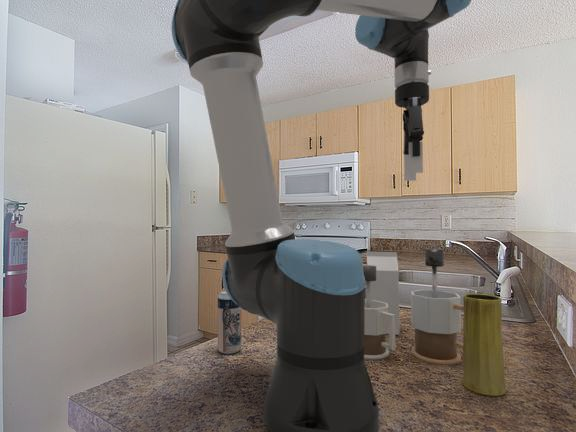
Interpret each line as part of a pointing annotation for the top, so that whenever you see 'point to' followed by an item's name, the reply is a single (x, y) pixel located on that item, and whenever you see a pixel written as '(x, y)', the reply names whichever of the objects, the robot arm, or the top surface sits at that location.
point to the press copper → (436, 326)
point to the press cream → (376, 322)
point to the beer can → (228, 325)
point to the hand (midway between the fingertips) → (412, 177)
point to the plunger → (434, 265)
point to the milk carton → (386, 282)
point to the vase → (483, 345)
